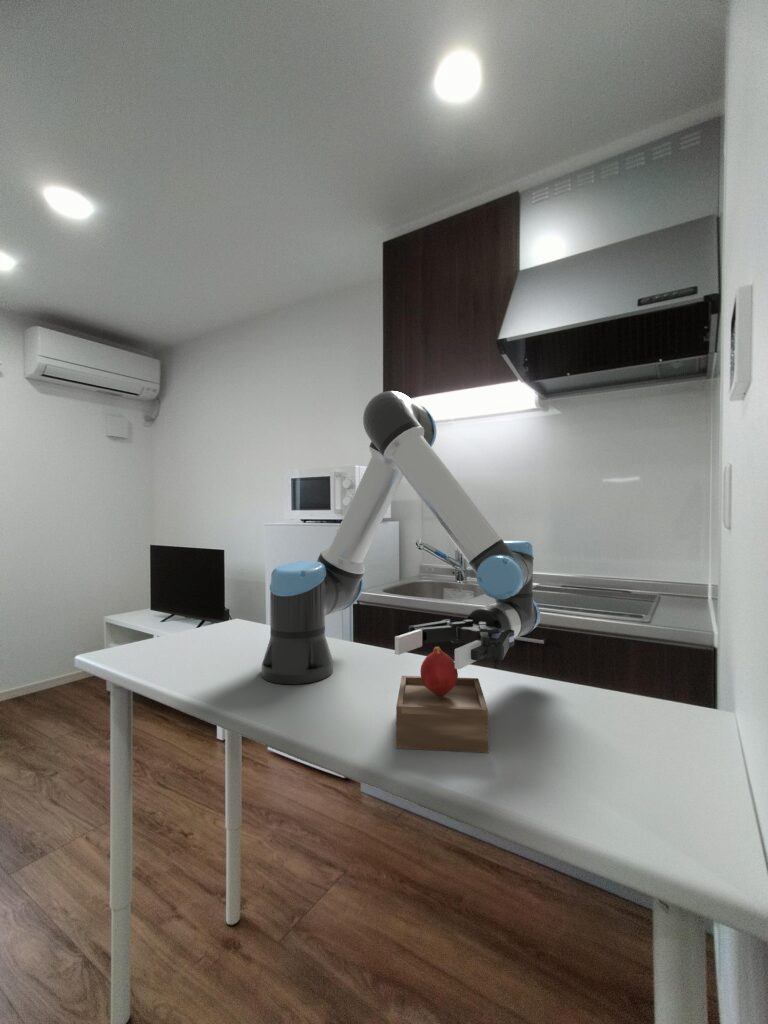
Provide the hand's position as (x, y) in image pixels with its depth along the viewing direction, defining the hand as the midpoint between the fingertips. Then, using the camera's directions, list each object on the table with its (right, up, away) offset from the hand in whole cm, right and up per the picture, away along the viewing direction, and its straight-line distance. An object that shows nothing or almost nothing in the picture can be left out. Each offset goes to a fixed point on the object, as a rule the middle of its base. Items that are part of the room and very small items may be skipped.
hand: (425, 652), depth 68 cm
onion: (+3, -8, +3) cm, 9 cm away
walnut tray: (+3, -13, +3) cm, 14 cm away
